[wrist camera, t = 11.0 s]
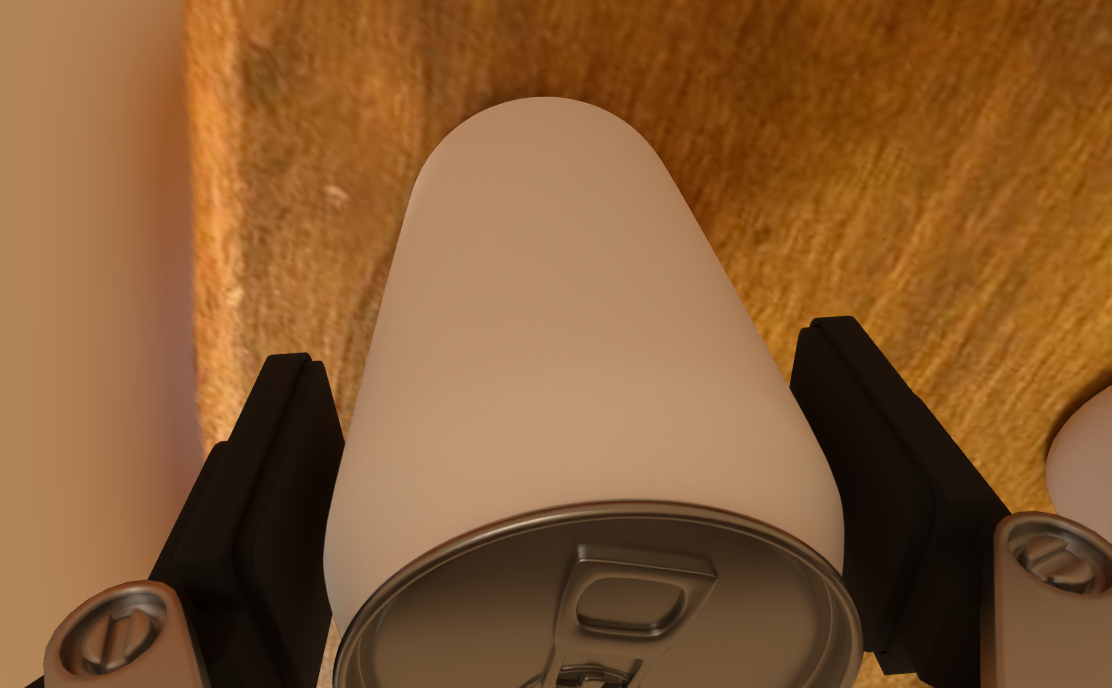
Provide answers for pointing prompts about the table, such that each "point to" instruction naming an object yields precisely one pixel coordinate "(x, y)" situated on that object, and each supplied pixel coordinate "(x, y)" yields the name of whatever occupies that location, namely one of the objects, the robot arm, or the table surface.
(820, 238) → the table surface
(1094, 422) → the cup
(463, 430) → the can
